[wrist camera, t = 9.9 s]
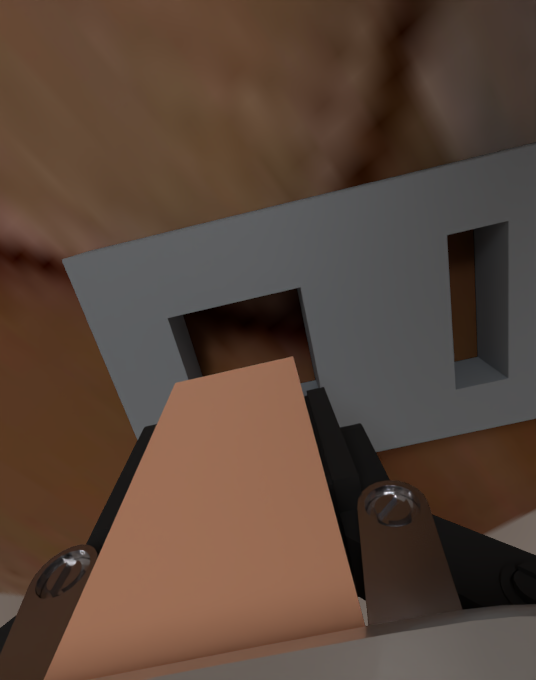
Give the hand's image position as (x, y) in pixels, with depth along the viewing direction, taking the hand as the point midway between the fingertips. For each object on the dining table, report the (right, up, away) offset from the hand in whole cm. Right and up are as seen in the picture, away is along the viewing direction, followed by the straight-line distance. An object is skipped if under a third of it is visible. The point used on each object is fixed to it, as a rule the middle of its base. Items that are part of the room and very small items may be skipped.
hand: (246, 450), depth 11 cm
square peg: (0, 0, +2) cm, 2 cm away
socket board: (+5, +4, +7) cm, 10 cm away
